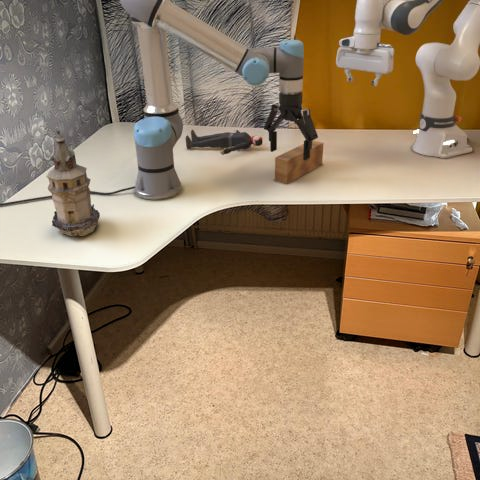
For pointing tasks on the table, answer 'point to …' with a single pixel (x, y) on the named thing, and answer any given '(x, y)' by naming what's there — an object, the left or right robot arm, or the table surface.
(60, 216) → the miniature building
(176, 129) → the left robot arm
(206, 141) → the toy
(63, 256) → the table surface
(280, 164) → the bar
